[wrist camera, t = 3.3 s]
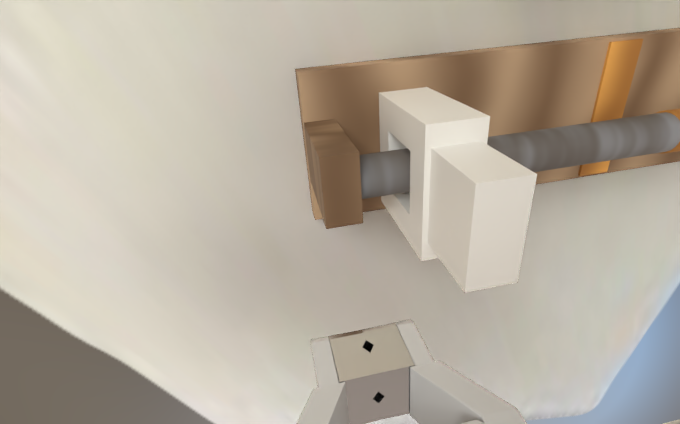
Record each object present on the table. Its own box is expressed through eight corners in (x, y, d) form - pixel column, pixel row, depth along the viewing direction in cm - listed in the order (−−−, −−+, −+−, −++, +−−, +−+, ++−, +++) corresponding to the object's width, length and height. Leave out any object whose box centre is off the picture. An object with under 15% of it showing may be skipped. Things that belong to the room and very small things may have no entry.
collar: (381, 201, 26) (456, 314, 17) (378, 92, 23) (470, 155, 13) (423, 194, 27) (520, 301, 17) (426, 86, 23) (550, 144, 14)
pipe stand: (312, 210, 29) (331, 274, 22) (295, 68, 24) (312, 94, 17) (681, 151, 33) (794, 190, 26) (729, 22, 29) (881, 27, 22)
